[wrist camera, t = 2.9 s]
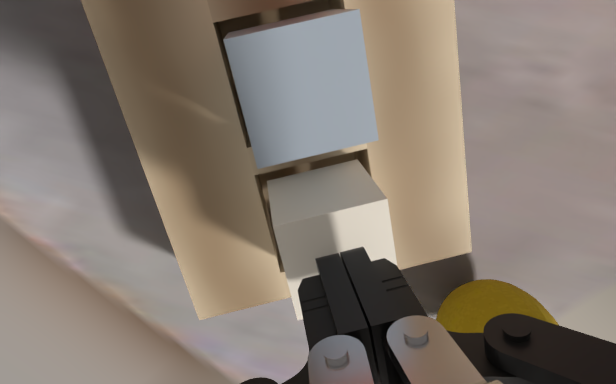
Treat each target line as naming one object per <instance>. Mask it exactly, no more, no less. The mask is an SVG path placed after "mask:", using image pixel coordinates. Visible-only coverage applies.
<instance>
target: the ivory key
mask: <svg viewBox="0 0 616 384" xmlns="http://www.w3.org/2000/svg"><path fill="white" fill-rule="evenodd" d="M267 186H268V194H269V201H270V209H271V217H272V224H273V229H274V233H275V237H276V241H277V244H278V248H279V252H280V256H281V259H282V263H283V267H284V271H285V275H286V278H287V282H288V286H289V290H290V294H291V297H292V301H293V305H294V309H295V312H296V316H297V320H302V319H303V315H302V310H301V305H300V300H299V295H298V288H299V286H300V283H301V281H302V279H304V278H308V277H312V276H316V275H319V273H318V269H317V265H316V260H315V258H319V257H323V256H327V255H331V254H335V253H339V255H340V252H343V251H347V250H351V249H355V248H359V247H364V248H365V250H366V252H367V254H368V256H369V258H370V260H371V261H375V260H379V259H383V258H385V259H387V260H389V261H390V262H392V263H394V264H395V265H397V260H396V253H395V247H394V240H393V233H392V226H391V219H390V213H389V206H388V199H387V198H386V196H385V195H384V194H383V192H382V191H381V190H380V188H379V187H378V186H377V184H376V183H375V182H374V180H373V179H372V178H371V176H370V175H369V174H368V172H367V171H366V170H365V168H364V167H363V166H362V164H361V163H360V162H359V161H358V159H356V160H352V161H348V162H344V163H340V164H335V165H331V166H327V167H323V168H319V169H314V170H310V171H306V172H302V173H298V174H293V175H289V176H285V177H281V178H277V179H273V180H268V181H267Z"/></svg>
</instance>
